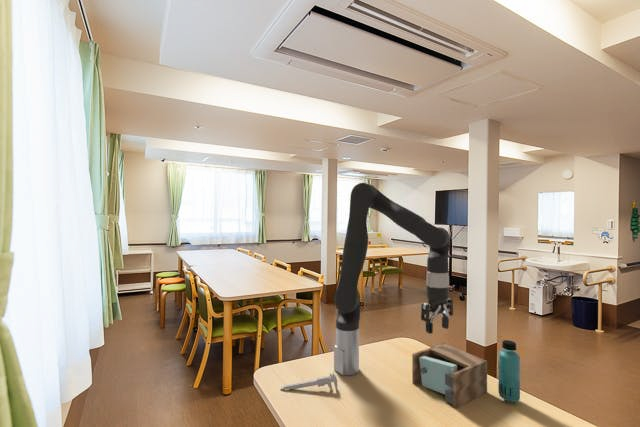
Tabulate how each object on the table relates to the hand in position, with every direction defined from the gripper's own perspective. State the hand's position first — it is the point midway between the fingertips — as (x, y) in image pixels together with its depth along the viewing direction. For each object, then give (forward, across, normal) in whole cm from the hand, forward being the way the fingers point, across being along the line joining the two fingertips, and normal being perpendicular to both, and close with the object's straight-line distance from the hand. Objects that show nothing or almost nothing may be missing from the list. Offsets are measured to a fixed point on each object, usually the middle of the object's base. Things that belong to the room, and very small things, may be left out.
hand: (437, 330), depth 112 cm
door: (+21, 0, +1) cm, 21 cm away
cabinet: (+22, -6, 0) cm, 23 cm away
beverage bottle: (+22, -16, +16) cm, 32 cm away
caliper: (+22, +37, -26) cm, 51 cm away
